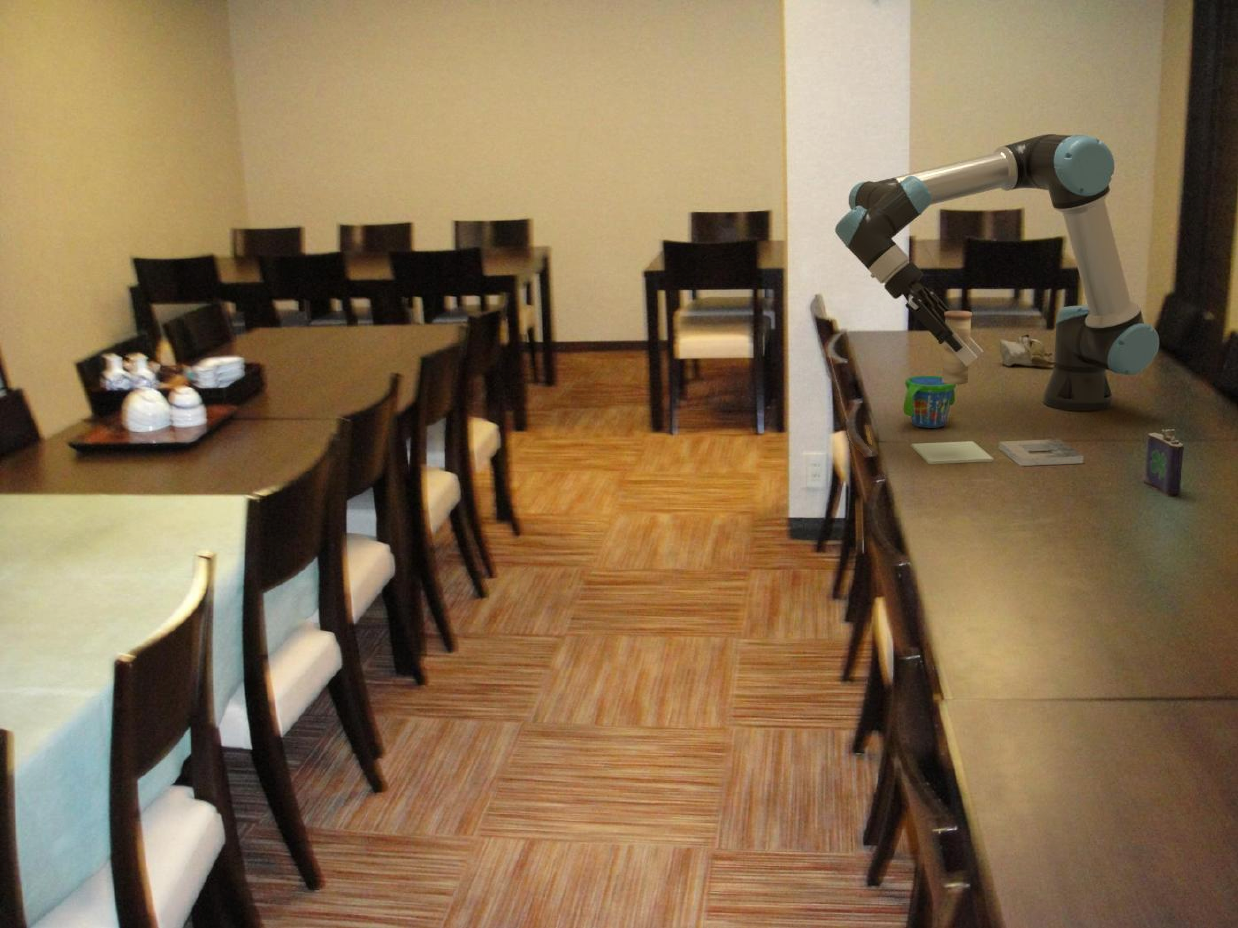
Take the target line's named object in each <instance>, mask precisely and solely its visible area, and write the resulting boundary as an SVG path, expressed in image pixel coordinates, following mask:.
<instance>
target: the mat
mask: <svg viewBox="0 0 1238 928" xmlns="http://www.w3.org/2000/svg"><path fill="white" fill-rule="evenodd" d="M911 448H912V449H913V450H914V451H915V452H916V453H918V454H919V456H920V457H922V458H923V460H924V461H925V462H926V463H927V464H929V465H940V464H941V465H943V464H965V463H989V462H991V463H992V462H994V458H993V457H992V456H991V455H990V454H989V453H987V452H986V451H985V450H984V449H983V448H981V447H980V446H979V445H978V444H977V443H975V442H974V441H972V440H971V441H967V440H966V441H947V442H924V443H922V442H921V443H911Z"/></svg>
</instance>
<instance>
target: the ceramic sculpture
mask: <svg viewBox="0 0 1238 928" xmlns="http://www.w3.org/2000/svg"><path fill="white" fill-rule="evenodd" d="M1045 350H1046V349H1045V346H1044V344H1043V343H1042V342H1041V341H1040V340H1038V339H1036V338H1033V339H1032V338H1031V337H1030V335H1029V334H1025V335H1021V336H1019V337H1018V339H1017V340H1015V341H1008V340H1004V339H1003V338H1002V339H1001V338H999V353H1000V356H1001V359H1002V363H1003V364H1004V366H1006V367H1011V366H1012V365H1014V364H1018V365H1021V366H1023V367H1036V366H1038V367H1050V366H1054V359H1053V358H1051V356H1053V353H1051V352H1050V353H1047V352H1046V351H1045Z"/></svg>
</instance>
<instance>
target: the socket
mask: <svg viewBox="0 0 1238 928" xmlns="http://www.w3.org/2000/svg"><path fill="white" fill-rule="evenodd" d="M998 443H999V444H998V450H1000V451H1001V452H1002V453H1003V454H1004V455H1006V456H1008V458H1010V459H1011V460H1012V461H1014V462H1015V463H1016V464H1017V465H1019V466H1020V467H1031V466H1049V465H1050V466H1052V465H1053V466H1054V465H1071V464H1072V465H1074V464H1084V455H1083V454H1081V453H1080V452H1079V451H1077V450H1075V449H1074V448H1072V447H1071V446H1069V445H1068V444H1067V443H1065V442H1064V441H1062V440H1061V439H1060V438H1058V439H1057V438H1056V439H1032V440H1027V439H1026V440H1009V441H1007V440H1006V441H1003V440H1002V441H999V442H998ZM1046 451H1047V452H1048V453H1047V452H1046ZM1030 452H1043V453H1030Z"/></svg>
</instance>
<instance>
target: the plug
mask: <svg viewBox="0 0 1238 928" xmlns="http://www.w3.org/2000/svg"><path fill="white" fill-rule="evenodd" d="M944 316H945V323H946V325H947V326H948V327H949V328H950V330H951V331H952V332H953V334H954V333H956V334H957V335H958V336H959V337H960V338H961V339H962V340H963V342H964V343H965V344H966V345H967V346H968V347H969V348H970V337H971V331H972V330H971V328H972V327H971V326H972V325H971V324H972V318H973V312H971V311H968V310H950V311H947V312H945V313H944ZM953 334H952V335H953ZM942 356H943V357H942V358H943V359H942V373H941V374H942V376H941V377H942V382H943V383H946V384H954V385H956V386H958V385H966V384H968V382H969V365H970V364H969V365H968V366H967V367H966V365H965V364H964V363H963V362H962V361H961V360H960V359H959V358H958V357H957V356H956V354H955V353H954V352H953V351H952V350H951V349H950V348H949V347H948V346H947V345H946V343H945V341H944V342H943V354H942Z"/></svg>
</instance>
